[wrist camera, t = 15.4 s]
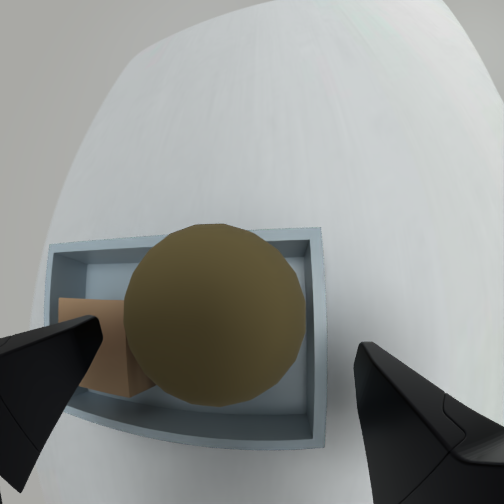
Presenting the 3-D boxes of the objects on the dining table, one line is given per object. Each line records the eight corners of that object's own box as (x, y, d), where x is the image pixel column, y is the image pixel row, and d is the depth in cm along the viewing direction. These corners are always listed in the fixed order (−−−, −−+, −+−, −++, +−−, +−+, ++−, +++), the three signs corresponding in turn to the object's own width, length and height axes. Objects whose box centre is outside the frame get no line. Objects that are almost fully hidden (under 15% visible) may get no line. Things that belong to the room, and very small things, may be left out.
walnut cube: (167, 379, 16) (129, 397, 11) (106, 371, 17) (61, 381, 12) (164, 305, 17) (125, 300, 12) (104, 304, 18) (58, 297, 13)
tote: (314, 417, 15) (324, 447, 11) (88, 395, 17) (50, 406, 12) (311, 249, 18) (320, 227, 13) (87, 258, 19) (49, 244, 15)
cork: (247, 384, 16) (198, 476, 5) (182, 314, 17) (59, 302, 6) (319, 316, 16) (385, 312, 6) (249, 248, 18) (206, 148, 7)
